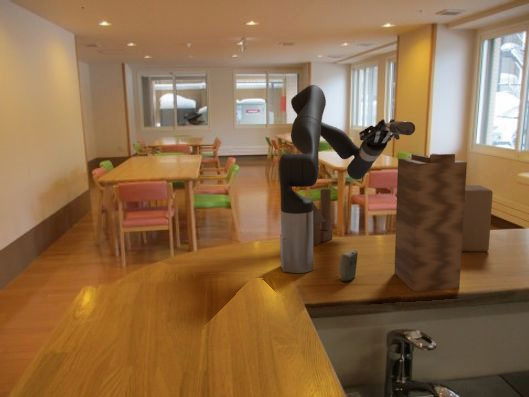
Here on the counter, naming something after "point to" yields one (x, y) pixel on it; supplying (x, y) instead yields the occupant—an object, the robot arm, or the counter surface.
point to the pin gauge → (400, 127)
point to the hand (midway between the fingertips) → (388, 121)
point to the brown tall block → (430, 221)
